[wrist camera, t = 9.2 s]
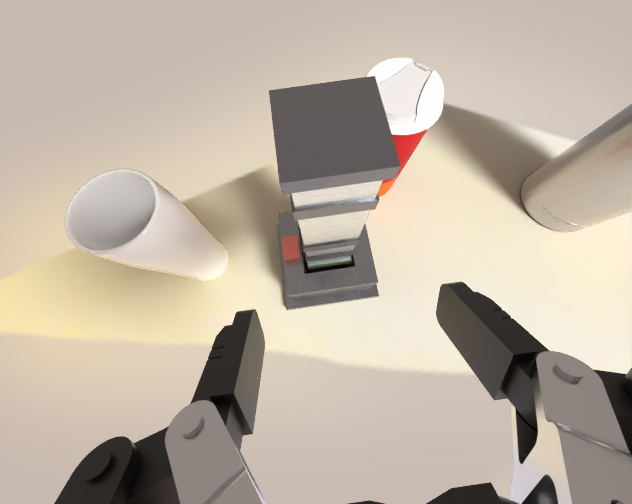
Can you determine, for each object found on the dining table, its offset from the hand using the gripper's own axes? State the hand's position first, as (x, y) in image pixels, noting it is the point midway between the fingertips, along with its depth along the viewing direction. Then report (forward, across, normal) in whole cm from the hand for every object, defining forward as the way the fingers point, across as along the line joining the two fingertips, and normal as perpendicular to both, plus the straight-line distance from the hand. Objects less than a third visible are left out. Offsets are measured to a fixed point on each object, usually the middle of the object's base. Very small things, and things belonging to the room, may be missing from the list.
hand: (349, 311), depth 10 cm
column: (+15, 0, +5) cm, 16 cm away
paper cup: (+26, -8, +1) cm, 27 cm away
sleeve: (+18, 0, +8) cm, 20 cm away
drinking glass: (+20, +15, +7) cm, 26 cm away
